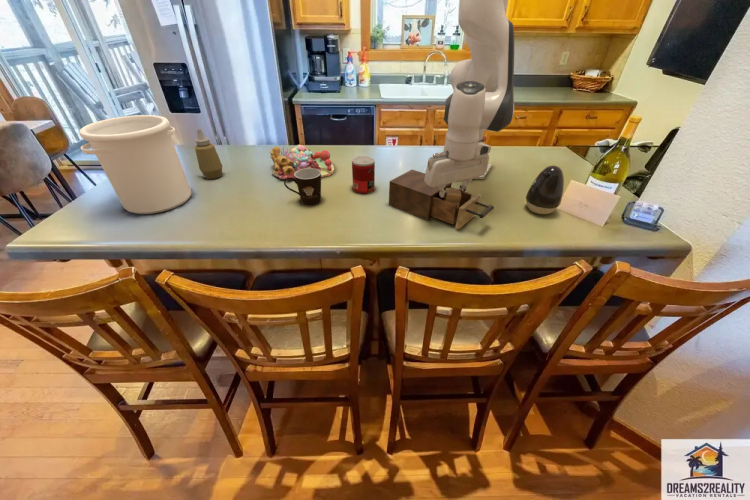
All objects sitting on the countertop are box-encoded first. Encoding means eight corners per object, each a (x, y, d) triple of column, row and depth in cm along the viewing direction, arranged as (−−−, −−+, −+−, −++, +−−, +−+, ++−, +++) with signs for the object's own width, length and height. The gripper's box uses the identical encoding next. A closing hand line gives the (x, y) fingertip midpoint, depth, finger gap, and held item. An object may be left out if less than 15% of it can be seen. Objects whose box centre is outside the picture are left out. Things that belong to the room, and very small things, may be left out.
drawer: (492, 220, 98) (498, 200, 94) (476, 236, 91) (481, 215, 87) (436, 200, 108) (439, 181, 104) (417, 213, 101) (419, 193, 97)
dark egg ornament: (515, 208, 105) (529, 164, 96) (533, 200, 110) (548, 157, 101) (544, 221, 99) (561, 176, 90) (562, 212, 104) (580, 167, 95)
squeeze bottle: (197, 178, 123) (181, 130, 112) (213, 170, 129) (199, 124, 118) (214, 182, 120) (198, 133, 110) (229, 174, 126) (216, 127, 116)
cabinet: (448, 205, 107) (452, 182, 102) (428, 220, 99) (431, 195, 94) (410, 191, 115) (412, 169, 110) (388, 204, 107) (389, 181, 102)
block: (443, 200, 100) (445, 187, 98) (458, 201, 100) (460, 189, 97) (444, 207, 97) (446, 194, 94) (458, 208, 96) (461, 195, 94)
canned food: (372, 194, 113) (372, 165, 106) (350, 192, 114) (349, 163, 107) (376, 185, 119) (376, 156, 112) (355, 183, 120) (354, 155, 113)
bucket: (137, 227, 95) (93, 143, 80) (102, 207, 105) (57, 128, 90) (213, 194, 112) (188, 120, 97) (177, 179, 122) (149, 110, 107)
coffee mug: (328, 197, 111) (325, 170, 105) (316, 208, 105) (313, 180, 99) (298, 192, 114) (294, 165, 108) (285, 203, 108) (280, 175, 102)
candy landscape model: (281, 187, 117) (276, 163, 112) (264, 165, 133) (259, 143, 128) (342, 173, 127) (341, 150, 122) (319, 155, 144) (317, 134, 138)
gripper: (436, 158, 82) (430, 206, 90) (495, 146, 89) (485, 191, 98) (422, 151, 86) (418, 196, 95) (480, 139, 94) (471, 183, 102)
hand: (452, 193), depth 96 cm, fingers closed on block, 6 cm apart
